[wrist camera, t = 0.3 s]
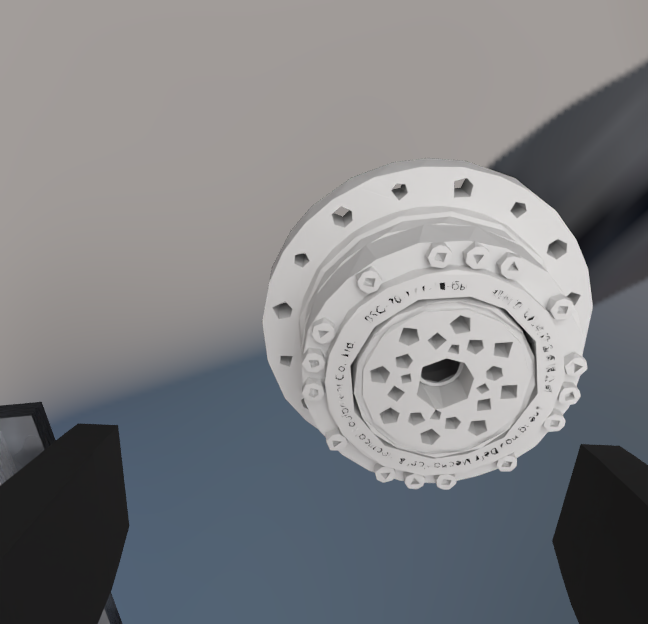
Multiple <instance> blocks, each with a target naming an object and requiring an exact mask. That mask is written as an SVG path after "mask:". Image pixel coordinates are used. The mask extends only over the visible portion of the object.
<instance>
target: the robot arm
mask: <svg viewBox="0 0 648 624" xmlns="http://www.w3.org/2000/svg"><path fill="white" fill-rule="evenodd" d="M128 528H129V520H128V511H127V502H126V493H125V484H124V476H123V466H122V458H121V448H120V439H119V431H118V425H99V424H98V425H97V424H77V425H76V426H74V427H73V428H72V429H70V430H69V431H68V432H66V433H65V434H64V435H63V436H62V437H60V438H59V439H58V440H56V441H55V442H54V443H53V444H51V445H50V446H49V447H48V448H46V449H45V450H44V451H43V452H41V453H40V454H39V455H38V456H36V457H35V458H34V459H33V460H32V461H30V462H29V463H28V464H27V465H25V466H24V467H23V468H22V469H20V470H19V471H18V472H17V473H15V474H14V475H13V476H12V477H10V478H9V479H8V480H7V481H5V482H4V483H3V484H1V485H0V624H98V622H99V620H100V617H101V615H102V612H103V610H104V607H105V605H106V602H107V600H108V597H109V595H110V592H111V590H112V586H113V583H114V579H115V576H116V572H117V569H118V566H119V562H120V558H121V554H122V551H123V547H124V543H125V540H126V536H127V532H128ZM553 545H554V549H555V552H556V556H557V559H558V563H559V566H560V570H561V574H562V577H563V580H564V583H565V587H566V590H567V593H568V596H569V599H570V602H571V605H572V608H573V610H574V612H575V615H576V617H577V619H578V622H579V624H648V465H646V464H645V463H644V462H642V461H641V460H640V459H638V458H637V457H635V456H634V455H632V454H631V453H629V452H628V451H626V450H625V449H623V448H622V447H620V446H611V445H610V446H609V445H586V444H581V445H580V449H579V452H578V456H577V459H576V463H575V466H574V469H573V473H572V476H571V479H570V483H569V487H568V490H567V493H566V496H565V500H564V503H563V507H562V510H561V514H560V517H559V520H558V524H557V527H556V531H555V534H554V537H553Z"/></svg>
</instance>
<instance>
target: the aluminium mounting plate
mask: <svg viewBox="0 0 648 624" xmlns="http://www.w3.org/2000/svg"><path fill="white" fill-rule="evenodd" d="M55 441H56V440H55V438H54V435H53V432H52V429H51V427H50V424H49V421H48V418H47V416H46V413H45V410H44V407H43V405H42V402H36V403H25V404H13V405H3V406H0V485H1V484H3V483H4V482H5V481H7V480H8V479H9V478H10V477H12V476H13V475H14V474H15V473H17V472H18V471H19V470H20V469H22V468H23V467H24V466H25V465H27V464H28V463H29V462H30V461H32V460H33V459H34V458H35V457H36V456H38V455H39V454H40V453H41V452H43V451H44V450H45V449H46V448H48V447H49V446H50V445H51V444H53V443H54V442H55ZM98 624H122V621H121V619H120V616H119V613H118V611H117V608H116V605H115V602H114V599H113V597H112V594H111V592H110V595H109V597H108V600H107V602H106V605H105V607H104V610H103V612H102V615H101V617H100V620H99V622H98Z"/></svg>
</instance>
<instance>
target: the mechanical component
mask: <svg viewBox="0 0 648 624" xmlns="http://www.w3.org/2000/svg"><path fill="white" fill-rule="evenodd" d="M461 179H465V181H464V182H463V184H462V186H461V188H455V189H454V181H458V180H461ZM396 184H402V185H401V188H398V189H393V187H394V186H395V185H396ZM392 189H393V190H392ZM341 206H342V207H344V208H346V209H348V210H349V211H348V212H347V213H346V214H345V215H344V216H343V217H342V216H339V215H337V214H334V212H335V211H336V210H337V209H339V208H340V207H341ZM302 253H306V254H302ZM283 302H286V303H283ZM281 303H283V304H281ZM592 308H593V304H592V297H591V289H590V281H589V273H588V268H587V265H586V263H585V260H584V258H583V255H582V253H581V250H580V248H579V245H578V243H577V240H576V239H575V237H574V236H573V235H572V233H571V232H570V230H569V229H568V227H567V226H566V224H565V223H564V222H563V220H562V219H561V217H560V216H559V214H558V213H557V212H556V211H555V210H554V209H553V208H552V207H550V206H549V205H548V204H547V203H545V202H544V201H543V200H542V199H540V198H539V197H538V196H537V195H535V194H534V193H533V192H532V191H530V190H529V189H528V188H527V187H525V186H524V185H523V184H522V183H520V182H519V181H518V180H516V179H515V178H513V177H510V176H507V175H504V174H502V173H499V172H496V171H493V170H490V169H487V168H485V167H482V166H479V165H476V164H473V163H470V162H468V161H460V160H446V159H435V158H424V159H416V160H408V161H400V162H393V163H390V164H387V165H385V166H382V167H379V168H376V169H374V170H371V171H368V172H365V173H363V174H360V175H357V176H355V177H352V178H350V179H349V180H348V181H346V182H345V183H344V184H342V185H340V186H339V187H338V188H336V189H335V190H333V191H332V192H331V193H329V194H328V195H326V196H325V197H324V198H322V199H321V200H320V201H318V202H317V203H316V204H315V205H313V206H312V207H311V208H310V209H309V210H308V211H307V212H306V213H305V215H304V216H303V217H302V218H301V219H300V221H299V222H298V223H297V224H296V225H295V226H294V228H293V229H292V230H291V231H290V233H289V235H288V237H287V239H286V241H285V243H284V245H283V247H282V249H281V251H280V253H279V255H278V257H277V259H276V261H275V262H274V265H273V266H272V271H271V276H270V281H269V288H268V292H267V298H266V303H265V309H264V314H263V320H262V323H263V330H264V336H265V337H264V338H265V344H266V351H267V359H268V362H269V365H270V367H271V369H272V371H273V373H274V376H275V378H276V380H277V382H278V384H279V386H280V388H281V390H282V393H283V395H284V397H285V399H286V400H287V401H288V402H289V403H290V404H291V405H292V406H293V407H294V408H295V409H296V410H297V412H298V413H299V414H300V415H301V416H302V417H303V418H304V419H305V420H306V421H308V422H309V423H310V424H312V425H313V426H314V427H316V428H317V429H319V430H320V432H321V433H322V434H323V435H324V436H325V437H326V442H327V444H328V446H329V448H330V450H338V451H339V452H340V453H341V454H342V455H343V456H345V457H347V458H349V459H350V460H352V461H354V462H355V463H357V464H359V465H361V466H362V467H364V468H366V469H367V470H369V471H372V472H375V475H376V478H377V480H379V481H381V482H383V483H384V482H388V481H392V480H393V478H394V479H397V480H400V481H405V484H406V485H407V487H408V488H410V489H418V488H420V487H422V486H423V484H424V482H426V483H436V484H437V487H439V488H441V489H450V488H451V487H453V486H454V485H455V484H456V481H457V480H462V479H466V478H470V477H474V476H479V475H482V474H484V473H487V472H490V471H493V470H496V469H498V468H499V470H500V471H511V470H513V469H514V468H515V467H516V466H517V459H516V458H517V457H519V456H521V455H522V454H524V453H525V452H527V451H528V450H530V449H532V448H533V447H534V446H536V445H537V444H538V443H539V441H540V440H541V439H542V438H543V437H544V436H545V435H546V433H547V432H548V431H549V432H552V431H559V430H560V429H561V428H562V427H563V426H565V419H564V417H563V414H564V413H565V411H566V410H567V409H568V408H569V405H571V404H576V402H577V401H578V399H579V398H580V392H579V390H578V388H577V387H576V386H577V382H578V380H579V377H580V375H581V374H582V373H583V372H584V371H586V370H587V363H586V360H585V359H584V358H583V357H582V355H583V349H584V345H585V340H586V336H587V331H588V326H589V322H590V317H591V313H592Z"/></svg>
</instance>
